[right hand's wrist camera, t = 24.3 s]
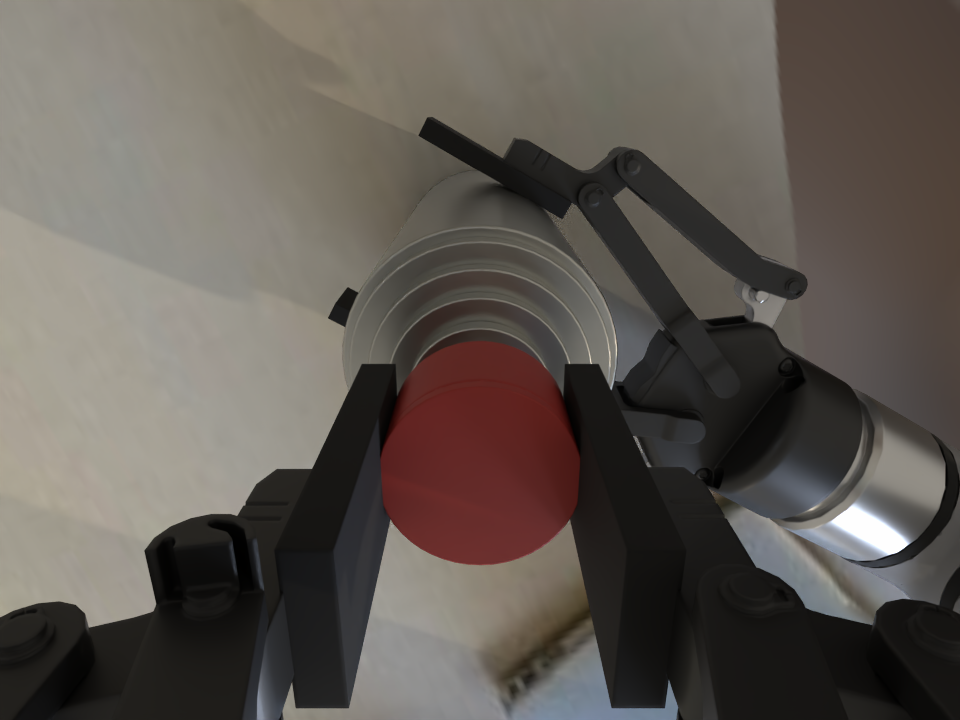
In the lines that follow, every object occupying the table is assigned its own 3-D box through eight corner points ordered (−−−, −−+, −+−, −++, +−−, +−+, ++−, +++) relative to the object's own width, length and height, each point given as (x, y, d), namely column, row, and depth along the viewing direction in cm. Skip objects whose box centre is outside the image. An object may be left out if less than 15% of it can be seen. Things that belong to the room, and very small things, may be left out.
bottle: (528, 330, 36) (598, 643, 15) (393, 294, 35) (261, 570, 14) (571, 193, 33) (733, 334, 12) (426, 151, 32) (326, 223, 11)
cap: (537, 510, 15) (548, 583, 13) (378, 474, 15) (359, 542, 13) (588, 363, 14) (611, 415, 12) (415, 320, 14) (401, 363, 11)
